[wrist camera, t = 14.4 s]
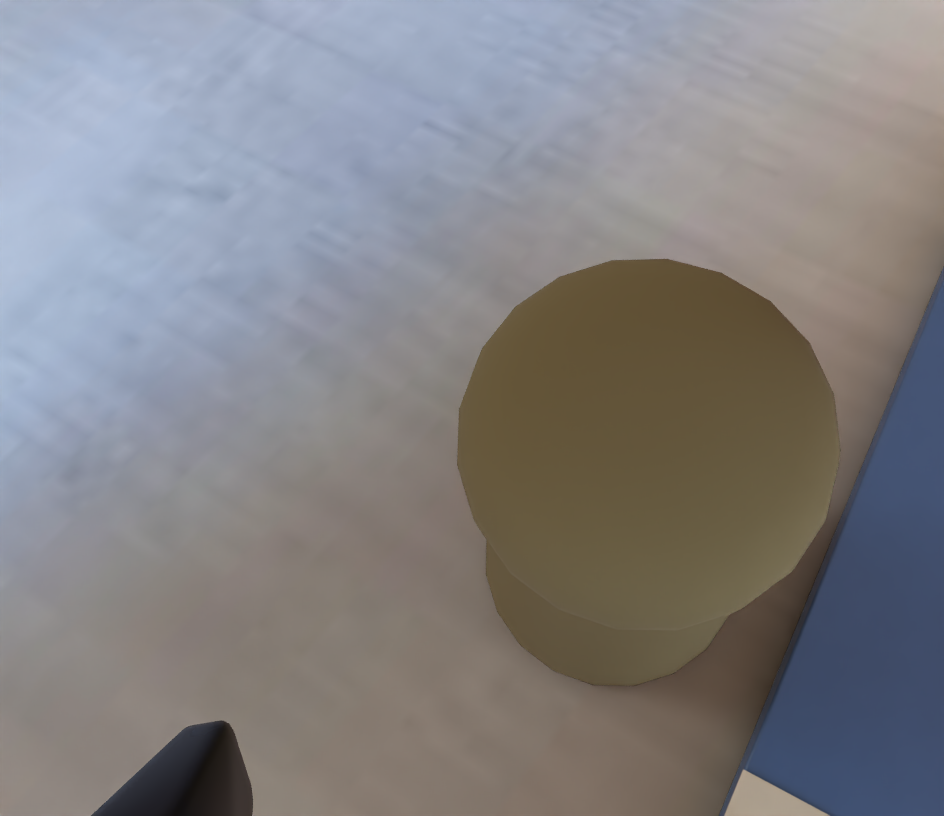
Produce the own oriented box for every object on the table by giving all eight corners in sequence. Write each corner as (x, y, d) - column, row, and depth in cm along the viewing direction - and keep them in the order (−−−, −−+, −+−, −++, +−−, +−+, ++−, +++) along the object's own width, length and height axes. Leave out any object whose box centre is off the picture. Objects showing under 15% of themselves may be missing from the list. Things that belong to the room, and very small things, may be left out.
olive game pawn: (434, 553, 21) (311, 402, 11) (605, 388, 22) (639, 109, 12) (615, 745, 20) (669, 777, 9) (794, 556, 21) (1023, 395, 10)
